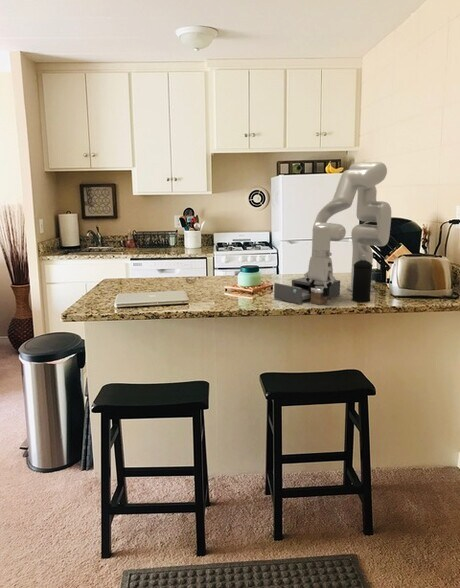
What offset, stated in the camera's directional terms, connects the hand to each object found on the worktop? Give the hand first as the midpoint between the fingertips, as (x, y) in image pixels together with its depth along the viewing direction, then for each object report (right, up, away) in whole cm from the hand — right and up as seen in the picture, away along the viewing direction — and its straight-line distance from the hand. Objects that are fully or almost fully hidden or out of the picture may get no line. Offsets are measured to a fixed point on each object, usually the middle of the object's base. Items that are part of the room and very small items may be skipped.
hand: (318, 294), depth 222 cm
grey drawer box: (+1, 0, +16) cm, 16 cm away
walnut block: (0, -4, +1) cm, 4 cm away
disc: (0, +1, 0) cm, 1 cm away
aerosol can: (+20, -3, +6) cm, 21 cm away
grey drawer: (-8, -2, +7) cm, 11 cm away
